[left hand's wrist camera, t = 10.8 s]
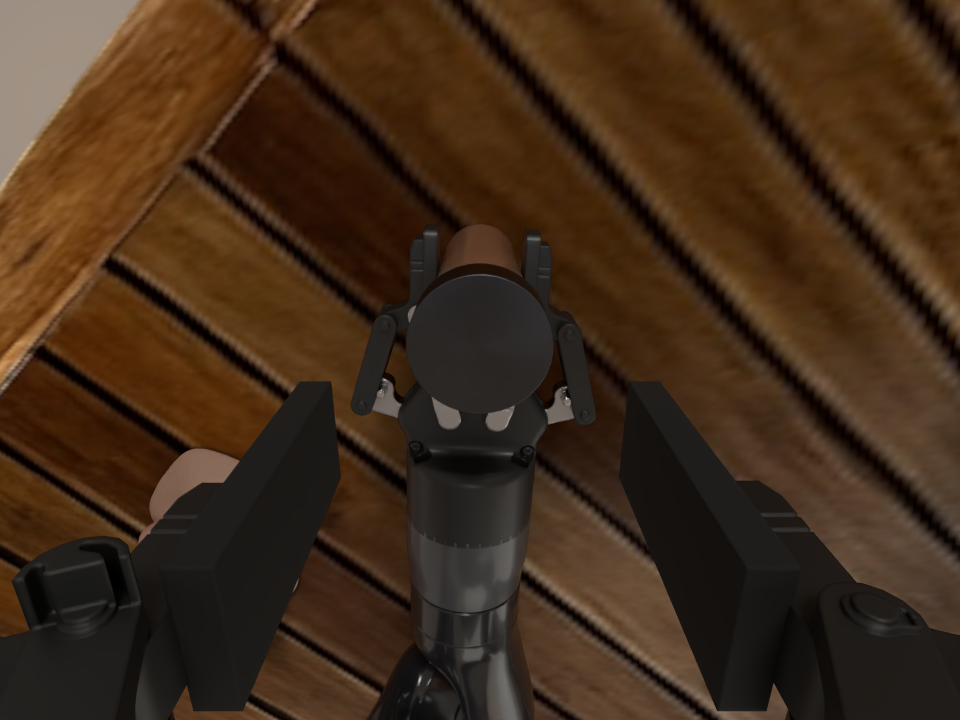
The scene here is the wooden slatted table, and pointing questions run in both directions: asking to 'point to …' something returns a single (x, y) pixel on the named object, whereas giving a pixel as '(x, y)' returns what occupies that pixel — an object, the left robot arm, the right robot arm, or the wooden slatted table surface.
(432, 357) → the lid
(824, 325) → the wooden slatted table surface
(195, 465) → the anatomical model
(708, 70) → the wooden slatted table surface
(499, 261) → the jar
